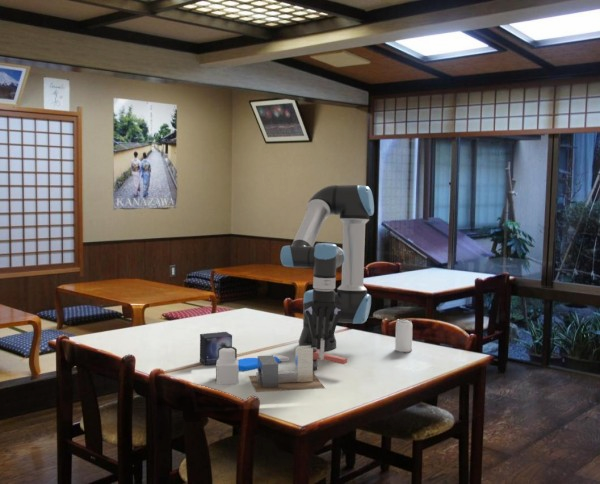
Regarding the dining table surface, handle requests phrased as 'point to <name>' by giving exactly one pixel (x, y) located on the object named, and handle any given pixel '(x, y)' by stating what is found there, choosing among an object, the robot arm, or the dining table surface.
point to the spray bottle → (256, 362)
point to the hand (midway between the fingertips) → (321, 358)
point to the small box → (213, 346)
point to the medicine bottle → (227, 366)
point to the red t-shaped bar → (328, 357)
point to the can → (403, 335)
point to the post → (314, 365)
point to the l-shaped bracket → (297, 367)
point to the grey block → (268, 371)
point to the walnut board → (288, 385)
